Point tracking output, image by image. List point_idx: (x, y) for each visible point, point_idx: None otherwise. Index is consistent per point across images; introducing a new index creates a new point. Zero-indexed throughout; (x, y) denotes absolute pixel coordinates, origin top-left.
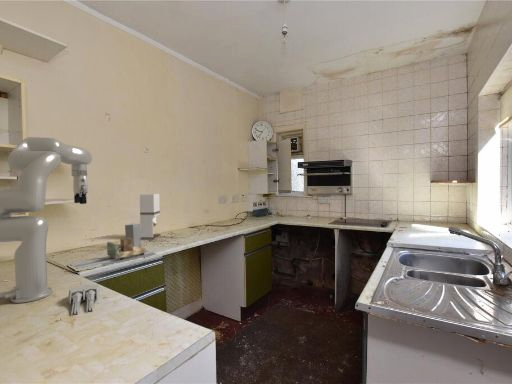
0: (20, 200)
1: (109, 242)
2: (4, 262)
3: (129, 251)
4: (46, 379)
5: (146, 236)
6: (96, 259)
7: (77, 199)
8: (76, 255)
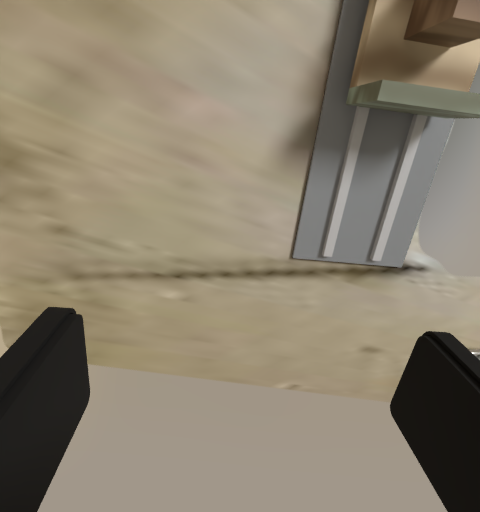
0: None
1: (396, 93)
2: None
3: None
4: None
5: None
6: (347, 167)
7: (50, 429)
8: (149, 169)
